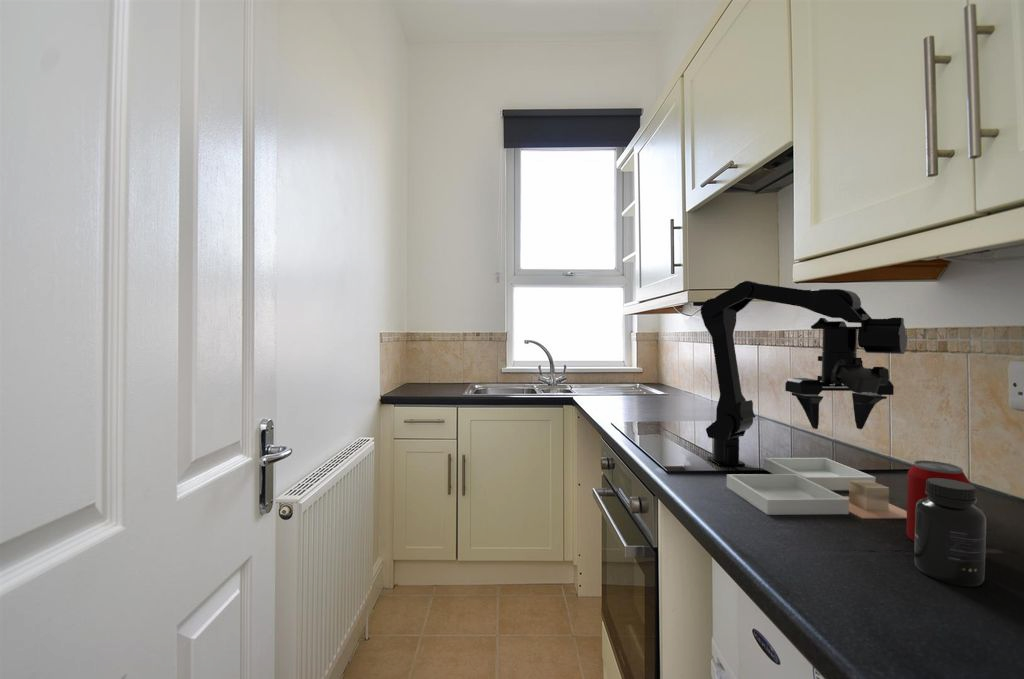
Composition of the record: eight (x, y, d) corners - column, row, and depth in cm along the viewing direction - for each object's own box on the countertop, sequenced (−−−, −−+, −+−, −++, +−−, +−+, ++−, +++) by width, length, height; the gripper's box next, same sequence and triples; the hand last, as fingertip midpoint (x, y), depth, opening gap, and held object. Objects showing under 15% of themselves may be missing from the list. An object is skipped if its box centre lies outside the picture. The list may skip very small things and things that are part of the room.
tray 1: (726, 489, 95) (726, 474, 94) (796, 488, 95) (796, 474, 95) (767, 517, 80) (767, 499, 80) (848, 516, 81) (849, 499, 81)
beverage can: (949, 539, 72) (951, 461, 72) (979, 559, 66) (981, 474, 66) (897, 533, 74) (898, 457, 74) (921, 553, 68) (923, 469, 67)
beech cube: (849, 502, 86) (849, 480, 86) (870, 502, 86) (870, 480, 86) (866, 510, 82) (866, 487, 82) (888, 510, 82) (889, 487, 82)
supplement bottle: (901, 560, 66) (903, 474, 65) (954, 562, 65) (956, 476, 65) (940, 586, 59) (942, 490, 59) (1001, 590, 58) (1003, 493, 58)
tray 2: (763, 471, 107) (764, 457, 107) (825, 470, 107) (825, 457, 107) (804, 492, 93) (805, 477, 93) (875, 492, 93) (875, 477, 93)
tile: (821, 499, 89) (821, 496, 89) (873, 499, 89) (873, 496, 89) (862, 521, 79) (862, 517, 79) (920, 520, 79) (920, 517, 79)
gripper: (821, 353, 87) (819, 437, 88) (919, 354, 88) (917, 438, 88) (784, 350, 98) (783, 425, 99) (872, 351, 99) (870, 425, 99)
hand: (837, 428), depth 96 cm, fingers open, 9 cm apart
